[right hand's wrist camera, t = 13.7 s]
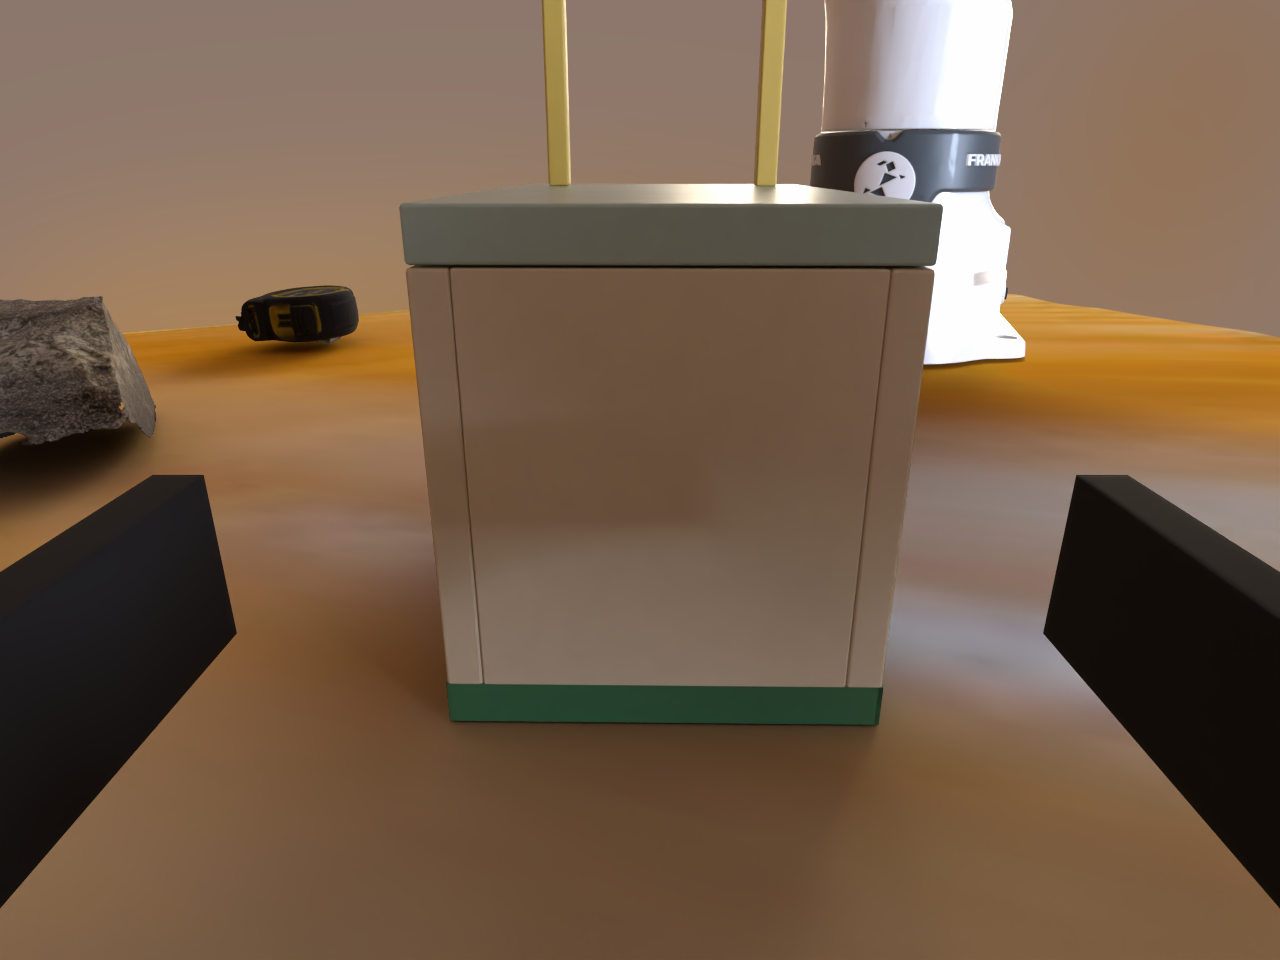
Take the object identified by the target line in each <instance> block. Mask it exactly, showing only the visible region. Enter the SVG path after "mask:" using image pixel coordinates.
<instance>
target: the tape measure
mask: <svg viewBox="0 0 1280 960" xmlns="http://www.w3.org/2000/svg"><path fill="white" fill-rule="evenodd" d="M236 320H237V321H239V324H238V328H239V329H240V330H242V331H246V333H247V335H248V337H249V338H251V339H252V340H254V341H267V340H278V341H286V342H310V341H317V342H322V343H327V344H329V343H331V342H333V341H335V340H337V339H339V338H340V337H341V336H345V335H348V334H350V333H352V332H354V331H355V329H356V327H357V324H358V321H359V319H358V310H357V305H356V300H355V297H354V295H353V292H352V291H351V290H350V289H349V288H347V287H342V286H314V287H301V288H292V289H286V290H280V291H276V292H272V293H268V294H266V295H263V296H261V297H257V298H253V299H250V300H248V301H247V302H245V303H244V304H243V306H242V312H241V317H239V316H236Z"/></svg>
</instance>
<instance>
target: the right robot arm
mask: <svg viewBox="0 0 1280 960" xmlns="http://www.w3.org/2000/svg"><path fill="white" fill-rule="evenodd" d="M236 634H237V632H236V627H235V623H234V618H233V613H232V608H231V604H230V599H229V594H228V589H227V584H226V580H225V575H224V570H223V565H222V561H221V556H220V551H219V546H218V542H217V537H216V532H215V527H214V522H213V518H212V513H211V508H210V503H209V499H208V494H207V489H206V484H205V480H204V475H152V476H150V477H149V478H147V479H146V480H144V481H143V482H141V483H139V484H138V485H136V486H135V487H133V488H132V489H130V490H128V491H127V492H125V493H124V494H122V495H121V496H119V497H117V498H116V499H114V500H113V501H111V502H110V503H108V504H106V505H105V506H103V507H102V508H100V509H99V510H97V511H95V512H94V513H92V514H91V515H89V516H88V517H86V518H84V519H83V520H81V521H80V522H78V523H77V524H75V525H73V526H72V527H70V528H69V529H67V530H66V531H64V532H63V533H61V534H59V535H58V536H56V537H55V538H53V539H52V540H50V541H48V542H47V543H45V544H44V545H42V546H41V547H39V548H37V549H36V550H34V551H33V552H31V553H30V554H28V555H26V556H25V557H23V558H22V559H20V560H19V561H17V562H15V563H14V564H12V565H11V566H9V567H8V568H6V569H4V570H3V571H1V572H0V908H1V907H2V906H3V904H4V903H5V902H6V901H7V900H8V899H9V897H10V896H11V895H12V894H13V893H14V892H15V890H16V889H17V888H18V887H19V886H20V885H21V884H22V882H23V881H24V880H25V879H26V878H27V877H28V875H29V874H30V873H31V872H32V871H33V870H34V868H35V867H36V866H37V865H38V864H39V863H40V861H41V860H42V859H43V858H44V857H45V856H46V854H47V853H48V852H49V851H50V850H51V849H52V847H53V846H54V845H55V844H56V843H57V842H58V840H59V839H60V838H61V837H62V836H63V835H64V834H65V832H66V831H67V830H68V829H69V828H70V827H71V825H72V824H73V823H74V822H75V821H76V820H77V818H78V817H79V816H80V815H81V814H82V813H83V811H84V810H85V809H86V808H87V807H88V806H89V804H90V803H91V802H92V801H93V800H94V799H95V797H96V796H97V795H98V794H99V793H100V792H101V791H102V789H103V788H104V787H105V786H106V785H107V784H108V782H109V781H110V780H111V779H112V778H113V777H114V775H115V774H116V773H117V772H118V771H119V770H120V768H121V767H122V766H123V765H124V764H125V763H126V761H127V760H128V759H129V758H130V757H131V756H132V754H133V753H134V752H135V751H136V750H137V749H138V748H139V746H140V745H141V744H142V743H143V742H144V741H145V739H146V738H147V737H148V736H149V735H150V734H151V732H152V731H153V730H154V729H155V728H156V727H157V725H158V724H159V723H160V722H161V721H162V720H163V718H164V717H165V716H166V715H167V714H168V713H169V711H170V710H171V709H172V708H173V707H174V706H175V704H176V703H177V702H178V701H179V700H180V699H181V698H182V696H183V695H184V694H185V693H186V692H187V691H188V689H189V688H190V687H191V686H192V685H193V684H194V682H195V681H196V680H197V679H198V678H199V677H200V675H201V674H202V673H203V672H204V671H205V670H206V668H207V667H208V666H209V665H210V664H211V663H212V661H213V660H214V659H215V658H216V657H217V656H218V655H219V653H220V652H221V651H222V650H223V649H224V648H225V646H226V645H227V644H228V643H229V642H230V641H231V639H232V638H233V637H234V636H235V635H236ZM1043 634H1044V635H1045V636H1046V637H1047V638H1048V639H1049V641H1050V642H1051V643H1052V644H1053V645H1054V646H1055V648H1056V649H1057V650H1058V651H1059V652H1060V653H1061V655H1062V656H1063V657H1064V658H1065V659H1066V660H1067V661H1068V663H1069V664H1070V665H1071V666H1072V667H1073V668H1074V670H1075V671H1076V672H1077V673H1078V674H1079V675H1080V677H1081V678H1082V679H1083V680H1084V681H1085V682H1086V684H1087V685H1088V686H1089V687H1090V688H1091V689H1092V691H1093V692H1094V693H1095V694H1096V695H1097V696H1098V698H1099V699H1100V700H1101V701H1102V702H1103V703H1104V705H1105V706H1106V707H1107V708H1108V709H1109V710H1110V711H1111V713H1112V714H1113V715H1114V716H1115V717H1116V718H1117V720H1118V721H1119V722H1120V723H1121V724H1122V725H1123V727H1124V728H1125V729H1126V730H1127V731H1128V732H1129V734H1130V735H1131V736H1132V737H1133V738H1134V739H1135V741H1136V742H1137V743H1138V744H1139V745H1140V746H1141V748H1142V749H1143V750H1144V751H1145V752H1146V753H1147V754H1148V756H1149V757H1150V758H1151V759H1152V760H1153V761H1154V763H1155V764H1156V765H1157V766H1158V767H1159V768H1160V770H1161V771H1162V772H1163V773H1164V774H1165V775H1166V777H1167V778H1168V779H1169V780H1170V781H1171V782H1172V784H1173V785H1174V786H1175V787H1176V788H1177V789H1178V791H1179V792H1180V793H1181V794H1182V795H1183V796H1184V797H1185V799H1186V800H1187V801H1188V802H1189V803H1190V804H1191V806H1192V807H1193V808H1194V809H1195V810H1196V811H1197V813H1198V814H1199V815H1200V816H1201V817H1202V818H1203V820H1204V821H1205V822H1206V823H1207V824H1208V825H1209V827H1210V828H1211V829H1212V830H1213V831H1214V832H1215V834H1216V835H1217V836H1218V837H1219V838H1220V839H1221V840H1222V842H1223V843H1224V844H1225V845H1226V846H1227V847H1228V849H1229V850H1230V851H1231V852H1232V853H1233V854H1234V856H1235V857H1236V858H1237V859H1238V860H1239V861H1240V863H1241V864H1242V865H1243V866H1244V867H1245V868H1246V870H1247V871H1248V872H1249V873H1250V874H1251V875H1252V877H1253V878H1254V879H1255V880H1256V881H1257V882H1258V884H1259V885H1260V886H1261V887H1262V888H1263V889H1264V890H1265V892H1266V893H1267V894H1268V895H1269V896H1270V897H1271V899H1272V900H1273V901H1274V902H1275V903H1276V904H1277V906H1278V907H1279V908H1280V572H1279V571H1277V570H1276V569H1274V568H1272V567H1271V566H1269V565H1268V564H1266V563H1265V562H1263V561H1261V560H1260V559H1258V558H1257V557H1255V556H1254V555H1252V554H1250V553H1249V552H1247V551H1246V550H1244V549H1243V548H1241V547H1239V546H1238V545H1236V544H1235V543H1233V542H1232V541H1230V540H1228V539H1227V538H1225V537H1224V536H1222V535H1221V534H1219V533H1217V532H1216V531H1214V530H1213V529H1211V528H1210V527H1208V526H1207V525H1205V524H1203V523H1202V522H1200V521H1199V520H1197V519H1196V518H1194V517H1192V516H1191V515H1189V514H1188V513H1186V512H1185V511H1183V510H1181V509H1180V508H1178V507H1177V506H1175V505H1174V504H1172V503H1170V502H1169V501H1167V500H1166V499H1164V498H1163V497H1161V496H1159V495H1158V494H1156V493H1155V492H1153V491H1152V490H1150V489H1148V488H1147V487H1145V486H1144V485H1142V484H1141V483H1139V482H1137V481H1136V480H1134V479H1133V478H1131V477H1130V476H1128V475H1076V480H1075V484H1074V489H1073V494H1072V499H1071V503H1070V508H1069V513H1068V518H1067V522H1066V527H1065V532H1064V537H1063V542H1062V546H1061V551H1060V556H1059V561H1058V565H1057V570H1056V575H1055V580H1054V584H1053V589H1052V594H1051V599H1050V604H1049V608H1048V613H1047V618H1046V623H1045V627H1044V632H1043Z"/></svg>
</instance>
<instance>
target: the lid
mask: <svg viewBox="0 0 1280 960" xmlns="http://www.w3.org/2000/svg"><path fill="white" fill-rule="evenodd" d="M786 10H787V0H763V2H762V23H761V44H760V65H759V85H758V106H757V127H756V148H755V168H754V184H571V171H570V136H569V100H568V65H567V30H566V0H542V17H543V43H544V69H545V96H546V121H547V122H546V123H547V149H548V175H549V184H526V185H520V186H513V187H507V188H500V189H493V190H487V191H480V192H474V193H467V194H460V195H454V196H447V197H440V198H434V199H427V200H421V201H414V202H407V203H403V204H401V205H400V207H399V210H400V219H401V229H402V239H403V249H404V259H405V262H406V264H408V265H629V266H933V265H935V264H936V262H937V257H938V249H939V241H940V233H941V226H942V218H943V210H944V208H943V205H941V204H938V203H931V202H923V201H916V200H908V199H901V198H893V197H886V196H878V195H871V194H863V193H856V192H848V191H841V190H833V189H826V188H818V187H811V186H803V185H796V184H776V183H777V165H778V148H779V131H780V113H781V96H782V79H783V61H784V44H785V26H786Z"/></svg>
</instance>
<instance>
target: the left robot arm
mask: <svg viewBox="0 0 1280 960" xmlns="http://www.w3.org/2000/svg"><path fill="white" fill-rule="evenodd" d="M825 13H826V52H825V81H824V100H823V115H822V128H821V134H818V135H817V136H816V137H815V141H814V149H813V155H811V163H810V165H812V168H811V182H810V186H811V187H818V188H826V189H833V190H841V191H848V192H856V193H863V194H871V195H878V196H886V197H893V198H901V199H908V200H916V201H923V202H931V203H938V204H941V205H943V208H944V210H943V218H942V226H941V233H940V241H939V249H938V257H937V262H936V264H935V265H933V266H925V267H928V268H930V269H933V270H934V271H935V279H934V287H933V295H932V302H931V310H930V318H929V326H928V333H927V341H926V349H925V356H924V364H946V363H957V362H965V361H972V360H979V359H1005V358H1021V357H1024V356H1025V341H1024V340H1023V339H1022V338H1021V337H1020V335H1019V334H1018V333H1017V332H1016V331H1015V330H1014V329H1013V328H1012V326H1011V325H1010V324H1009V323H1008V322H1007V321H1006V320H1005V318H1004V317H1003V316H1002V315H1001V314H1000V313H999V309H1000V303H1003V302H1004V299H1006V297H1007V290H1008V288H1007V287H1006V283H1005V280H1006V274H1007V271H1006V270H1005V267H1006V261H1007V254H1008V247H1009V239H1010V228H1009V227H1008V226H1006V225H1005V223H1004V220H1003V219H1002V218H1001V217H1000V216H999V215H998V214H997V213H996V211H995V210H994V208H993V206H992V204H991V201H990V198H989V191H991V190H993V189H994V188H995V184H996V176H997V169H998V166H999V165H1000V159H1001V155H1000V154H999V153H1000V143H1001V135H1000V134H999V133H998V132H993V131H995V130H996V123H997V116H998V109H999V102H1000V96H1001V89H1002V82H1003V76H1004V69H1005V62H1006V55H1007V49H1008V42H1009V35H1010V28H1011V21H1012V6H1011V0H825Z"/></svg>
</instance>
